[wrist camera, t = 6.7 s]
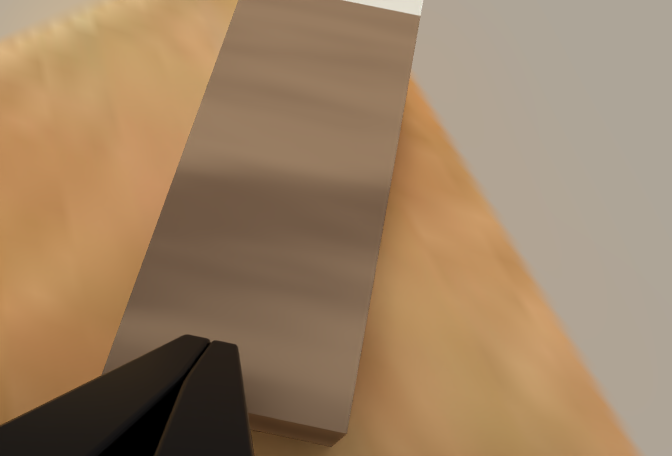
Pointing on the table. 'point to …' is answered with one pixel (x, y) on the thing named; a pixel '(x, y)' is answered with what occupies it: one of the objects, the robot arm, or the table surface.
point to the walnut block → (283, 206)
